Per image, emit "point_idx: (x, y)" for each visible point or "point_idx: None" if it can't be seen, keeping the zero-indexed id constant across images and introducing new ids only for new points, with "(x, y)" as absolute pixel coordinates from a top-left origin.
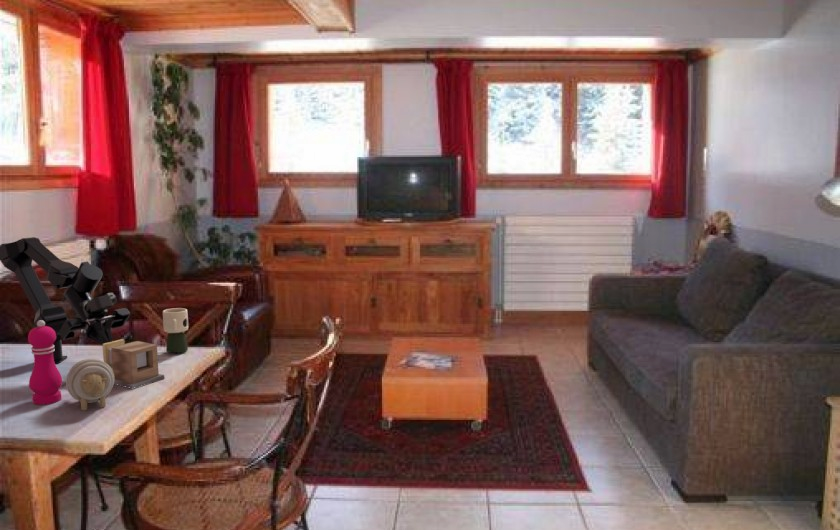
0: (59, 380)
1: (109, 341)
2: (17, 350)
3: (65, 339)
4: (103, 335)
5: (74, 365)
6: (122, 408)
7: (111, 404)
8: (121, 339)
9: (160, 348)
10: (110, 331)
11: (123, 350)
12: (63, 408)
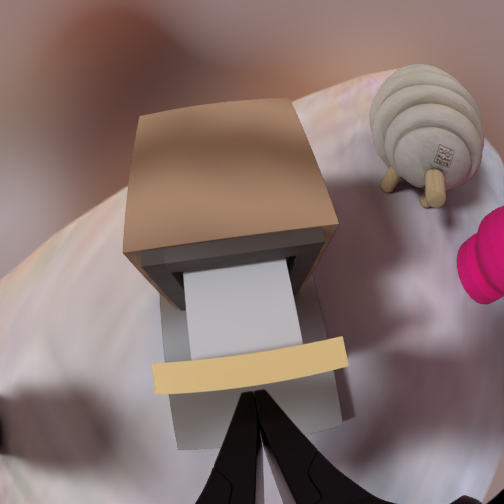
0: (490, 213)
1: (262, 415)
2: None
3: (500, 491)
4: (308, 458)
5: (478, 109)
6: (356, 109)
7: (369, 137)
8: (163, 388)
9: (2, 494)
10: (208, 492)
11: (304, 134)
12: (453, 191)
